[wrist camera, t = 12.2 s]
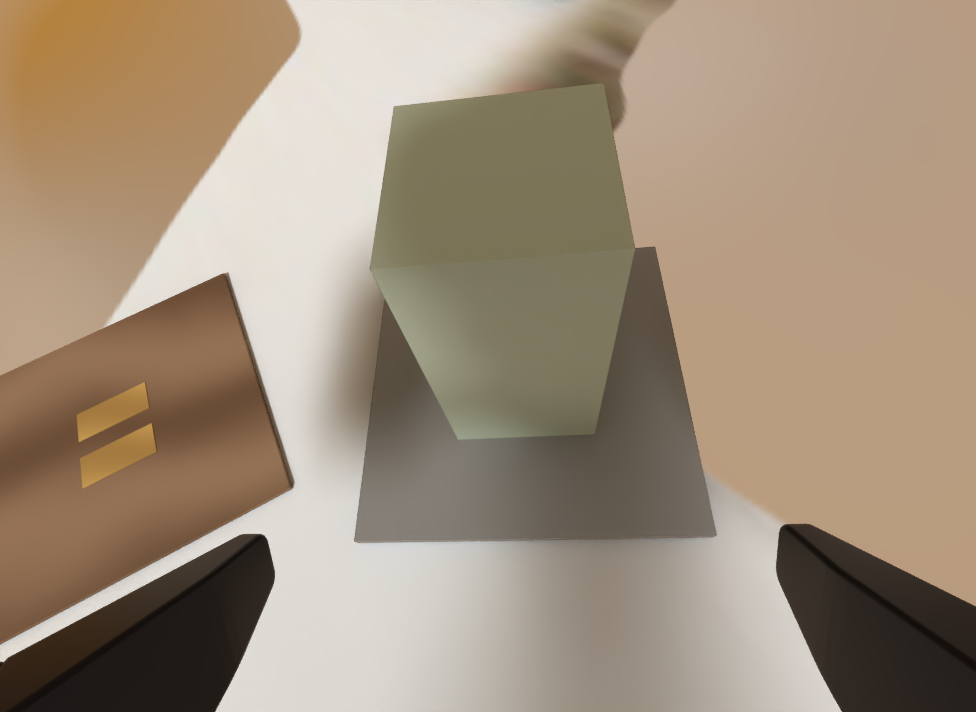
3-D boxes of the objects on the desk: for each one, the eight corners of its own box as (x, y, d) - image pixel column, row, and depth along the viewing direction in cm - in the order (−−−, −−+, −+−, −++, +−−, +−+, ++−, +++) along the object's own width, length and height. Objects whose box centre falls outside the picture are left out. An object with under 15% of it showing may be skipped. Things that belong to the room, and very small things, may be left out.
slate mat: (713, 537, 16) (716, 535, 16) (358, 542, 17) (354, 541, 17) (653, 252, 22) (655, 246, 21) (391, 272, 23) (388, 266, 23)
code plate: (292, 488, 18) (289, 487, 18) (-33, 662, 17) (-40, 662, 17) (225, 275, 24) (222, 272, 24) (-22, 389, 22) (-27, 387, 22)
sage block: (594, 434, 18) (634, 248, 9) (457, 439, 18) (369, 269, 9) (581, 318, 20) (603, 82, 11) (461, 325, 20) (394, 106, 12)
